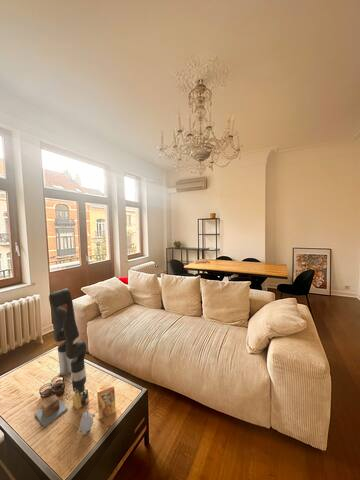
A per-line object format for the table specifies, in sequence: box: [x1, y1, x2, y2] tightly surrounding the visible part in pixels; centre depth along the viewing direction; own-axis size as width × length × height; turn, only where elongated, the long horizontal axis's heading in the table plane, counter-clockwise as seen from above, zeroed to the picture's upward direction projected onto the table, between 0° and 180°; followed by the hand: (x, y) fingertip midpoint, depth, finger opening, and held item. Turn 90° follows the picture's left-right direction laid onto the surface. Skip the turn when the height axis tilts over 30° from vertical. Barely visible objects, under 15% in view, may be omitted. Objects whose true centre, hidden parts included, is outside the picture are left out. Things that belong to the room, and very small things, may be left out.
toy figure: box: [77, 408, 96, 436], centre depth 104 cm, size 11×6×12 cm, turn 154°
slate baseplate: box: [34, 399, 68, 428], centre depth 115 cm, size 12×12×1 cm
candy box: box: [96, 383, 117, 420], centre depth 113 cm, size 9×4×15 cm, turn 116°
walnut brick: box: [40, 394, 60, 418], centre depth 115 cm, size 7×5×6 cm
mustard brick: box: [72, 388, 90, 410], centre depth 121 cm, size 7×5×6 cm
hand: (81, 401), depth 121 cm, fingers open, 5 cm apart
